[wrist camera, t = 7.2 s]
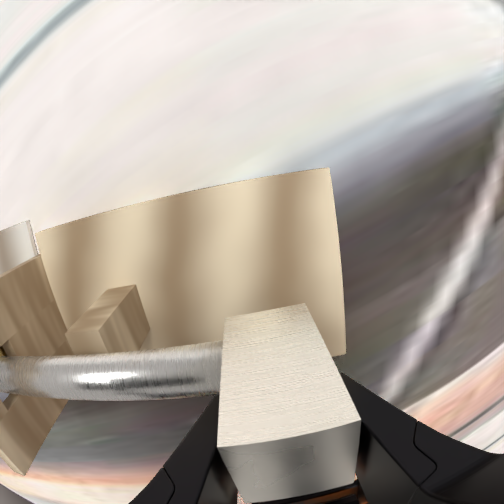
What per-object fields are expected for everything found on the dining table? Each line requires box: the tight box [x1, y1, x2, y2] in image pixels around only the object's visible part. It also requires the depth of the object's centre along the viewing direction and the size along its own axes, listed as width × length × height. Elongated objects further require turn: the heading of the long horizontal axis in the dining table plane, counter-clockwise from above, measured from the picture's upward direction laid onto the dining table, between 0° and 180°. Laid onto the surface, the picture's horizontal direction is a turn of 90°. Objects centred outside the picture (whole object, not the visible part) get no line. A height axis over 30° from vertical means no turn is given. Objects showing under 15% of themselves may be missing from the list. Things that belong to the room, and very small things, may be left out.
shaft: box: [0, 303, 361, 503], centre depth 8 cm, size 21×3×6 cm, turn 100°
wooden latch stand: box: [0, 168, 346, 476], centre depth 13 cm, size 29×14×12 cm, turn 100°
